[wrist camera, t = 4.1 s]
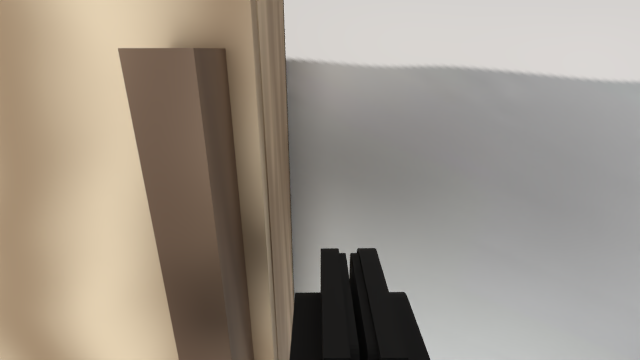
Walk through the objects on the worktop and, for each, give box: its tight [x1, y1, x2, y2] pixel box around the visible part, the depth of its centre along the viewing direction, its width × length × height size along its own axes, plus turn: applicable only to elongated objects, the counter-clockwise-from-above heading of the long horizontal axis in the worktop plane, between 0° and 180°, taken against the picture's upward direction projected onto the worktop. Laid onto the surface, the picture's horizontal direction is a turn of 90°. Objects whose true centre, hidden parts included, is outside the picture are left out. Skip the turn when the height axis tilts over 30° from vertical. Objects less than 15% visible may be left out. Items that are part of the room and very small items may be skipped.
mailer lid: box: [0, 0, 277, 360], centre depth 11 cm, size 16×22×3 cm
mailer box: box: [256, 0, 294, 360], centre depth 16 cm, size 16×22×8 cm
